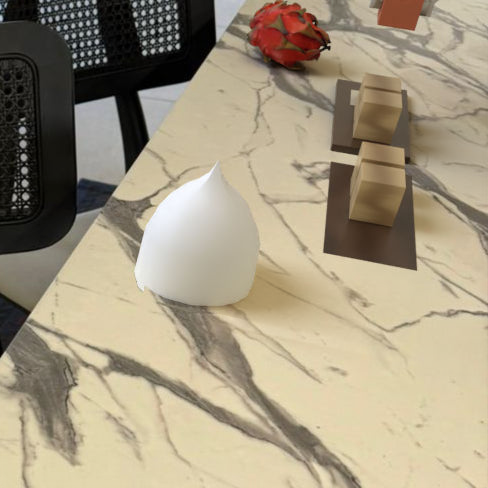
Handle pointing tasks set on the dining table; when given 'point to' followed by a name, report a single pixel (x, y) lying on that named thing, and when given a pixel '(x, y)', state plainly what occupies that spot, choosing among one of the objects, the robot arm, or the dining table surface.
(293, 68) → the dragon fruit
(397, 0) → the rust red cube
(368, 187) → the grooved block on base
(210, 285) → the teardrop
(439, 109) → the dining table surface
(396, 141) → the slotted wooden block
